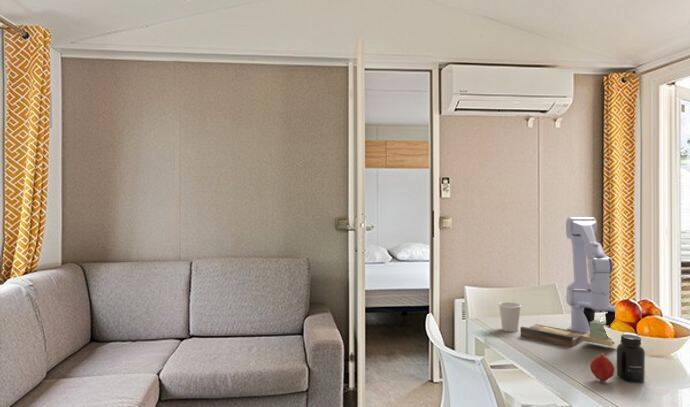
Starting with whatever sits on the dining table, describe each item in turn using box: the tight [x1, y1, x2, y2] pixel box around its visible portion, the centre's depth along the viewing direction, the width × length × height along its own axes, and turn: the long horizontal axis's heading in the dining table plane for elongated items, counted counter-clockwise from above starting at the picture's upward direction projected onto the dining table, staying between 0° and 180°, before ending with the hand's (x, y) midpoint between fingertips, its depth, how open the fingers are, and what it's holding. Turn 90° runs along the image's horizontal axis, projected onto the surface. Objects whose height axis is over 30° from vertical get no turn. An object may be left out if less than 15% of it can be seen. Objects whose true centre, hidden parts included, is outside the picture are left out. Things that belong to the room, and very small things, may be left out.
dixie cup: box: [498, 301, 522, 333], centre depth 181 cm, size 8×8×10 cm
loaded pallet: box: [581, 317, 615, 347], centre depth 158 cm, size 9×9×6 cm
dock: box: [519, 323, 586, 348], centre depth 170 cm, size 14×18×4 cm
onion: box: [590, 353, 615, 383], centre depth 129 cm, size 6×6×8 cm
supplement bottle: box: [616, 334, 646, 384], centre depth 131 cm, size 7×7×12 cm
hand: (600, 331), depth 158 cm, fingers closed on loaded pallet, 4 cm apart
